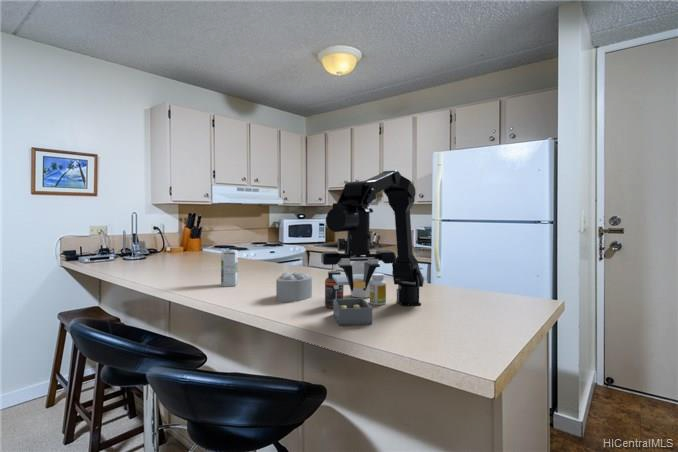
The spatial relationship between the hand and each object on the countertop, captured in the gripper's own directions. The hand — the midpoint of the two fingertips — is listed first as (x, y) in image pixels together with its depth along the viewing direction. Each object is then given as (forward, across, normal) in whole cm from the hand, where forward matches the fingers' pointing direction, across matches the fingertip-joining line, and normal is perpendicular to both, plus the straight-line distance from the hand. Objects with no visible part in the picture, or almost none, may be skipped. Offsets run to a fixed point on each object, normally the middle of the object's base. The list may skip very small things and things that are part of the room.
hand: (358, 290), depth 92 cm
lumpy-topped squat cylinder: (+10, +16, -37) cm, 41 cm away
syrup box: (+10, +41, -63) cm, 76 cm away
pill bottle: (+10, -9, -36) cm, 38 cm away
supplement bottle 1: (+10, +3, -23) cm, 25 cm away
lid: (-1, 0, -6) cm, 6 cm away
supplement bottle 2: (+10, -12, -25) cm, 29 cm away
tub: (+10, 0, -9) cm, 13 cm away
